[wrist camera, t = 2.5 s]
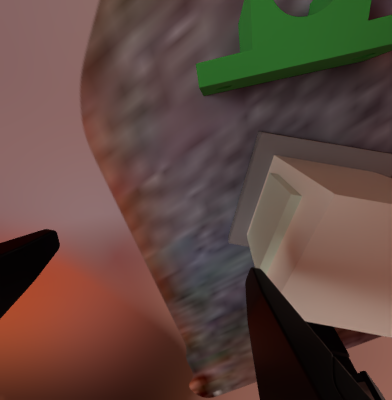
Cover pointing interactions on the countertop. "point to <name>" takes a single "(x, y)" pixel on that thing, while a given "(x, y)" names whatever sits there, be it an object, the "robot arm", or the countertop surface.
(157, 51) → the countertop surface
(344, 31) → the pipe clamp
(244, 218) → the plain beige box
